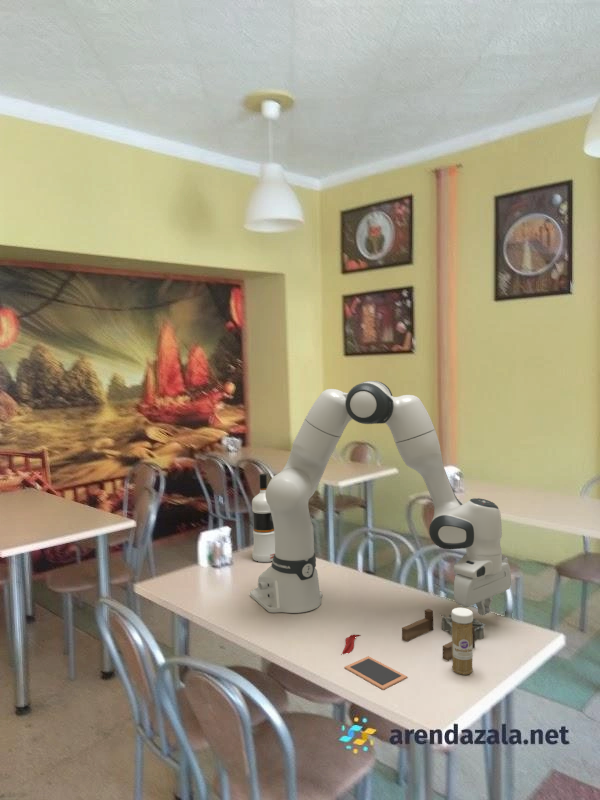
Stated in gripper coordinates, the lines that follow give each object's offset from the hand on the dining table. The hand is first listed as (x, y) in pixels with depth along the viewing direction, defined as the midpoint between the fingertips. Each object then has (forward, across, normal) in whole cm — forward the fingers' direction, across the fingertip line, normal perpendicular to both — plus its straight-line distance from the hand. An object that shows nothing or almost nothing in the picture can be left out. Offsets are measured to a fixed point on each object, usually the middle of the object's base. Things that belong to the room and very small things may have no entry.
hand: (483, 613), depth 159 cm
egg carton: (+2, +9, 0) cm, 10 cm away
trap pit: (+2, +40, 0) cm, 40 cm away
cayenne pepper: (+3, +35, -14) cm, 38 cm away
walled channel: (+2, +19, 0) cm, 19 cm away
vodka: (+2, +14, -80) cm, 81 cm away
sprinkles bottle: (+2, +25, +12) cm, 28 cm away
